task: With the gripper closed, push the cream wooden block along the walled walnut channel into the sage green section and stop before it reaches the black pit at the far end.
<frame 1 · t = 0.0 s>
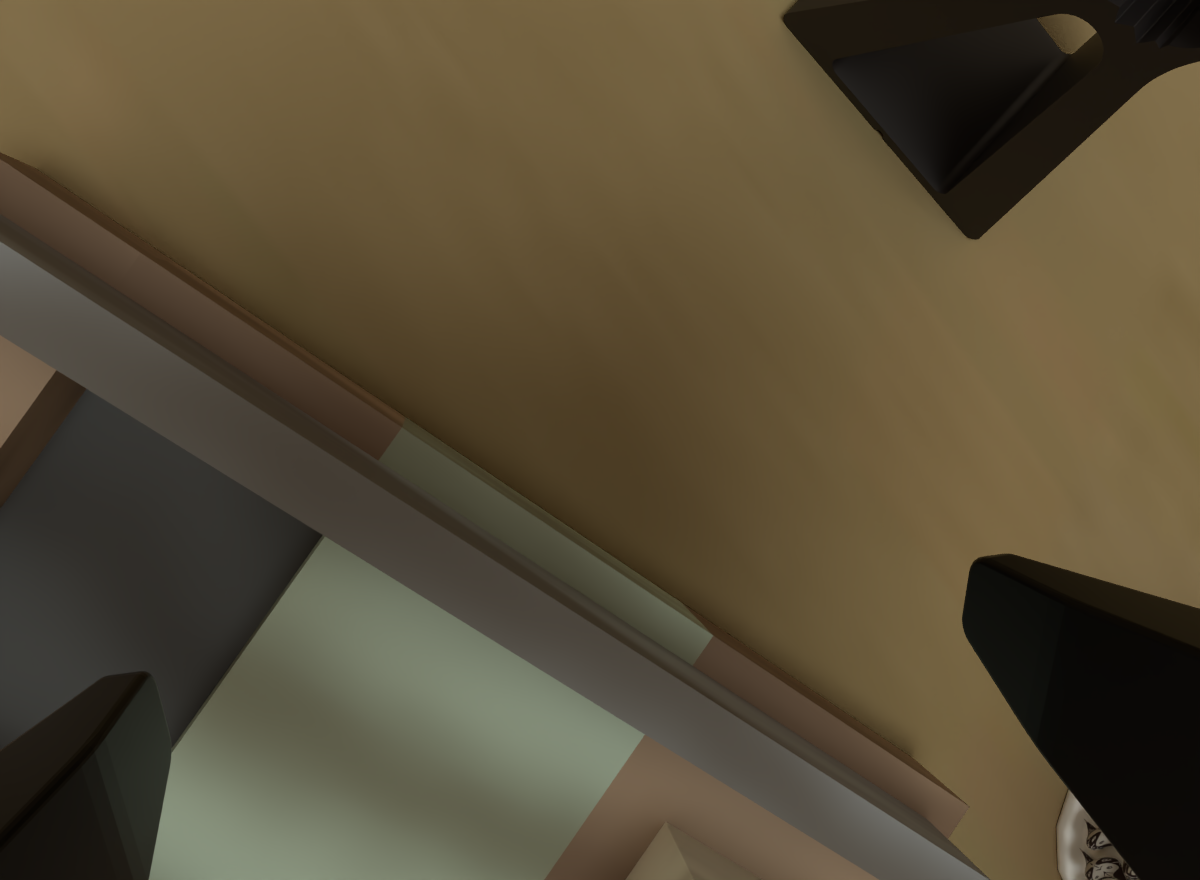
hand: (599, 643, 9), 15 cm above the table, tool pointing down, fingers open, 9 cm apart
decorative candle: (1153, 819, 31), on the table
channel board: (392, 739, 25), on the table
phone stand: (938, 66, 26), on the table
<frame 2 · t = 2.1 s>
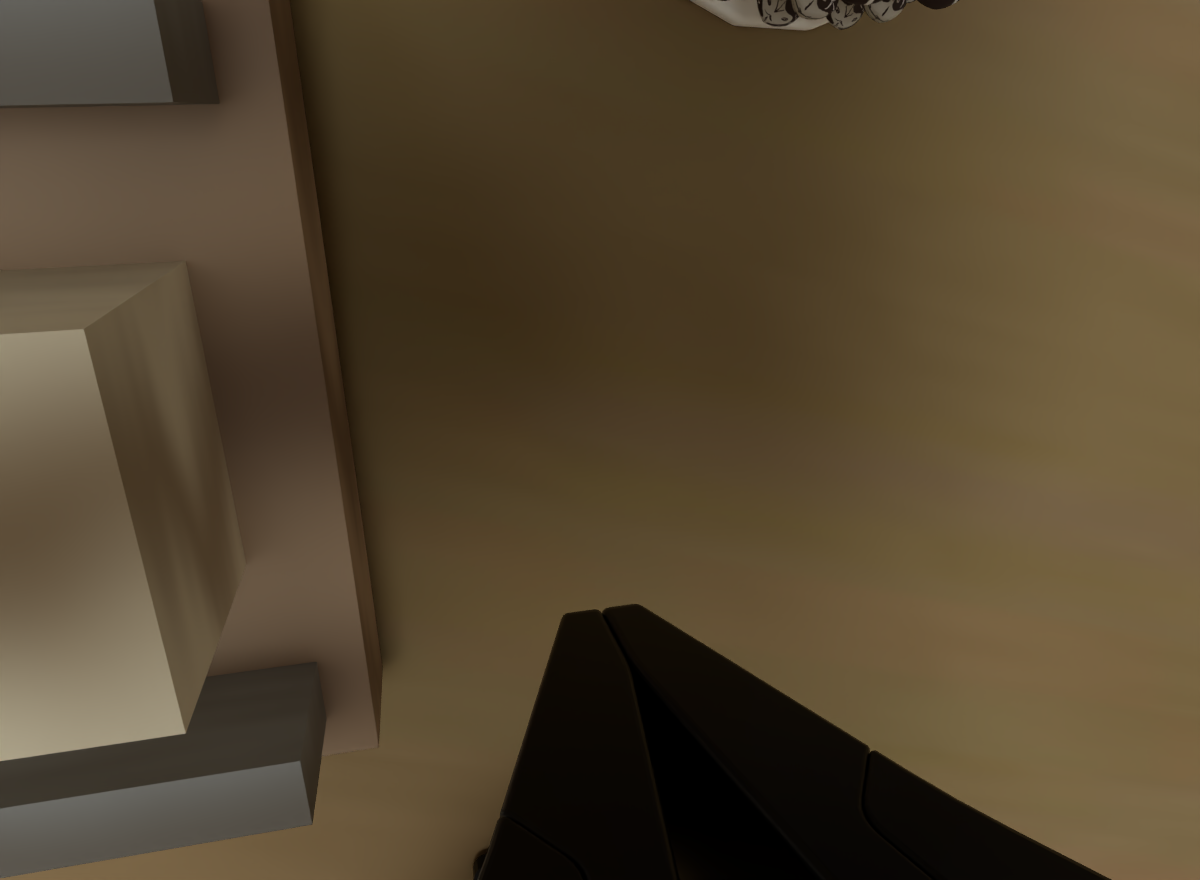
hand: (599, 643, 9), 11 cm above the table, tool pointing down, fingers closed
cream block: (40, 438, 15), point 3 cm above the table, touching channel board
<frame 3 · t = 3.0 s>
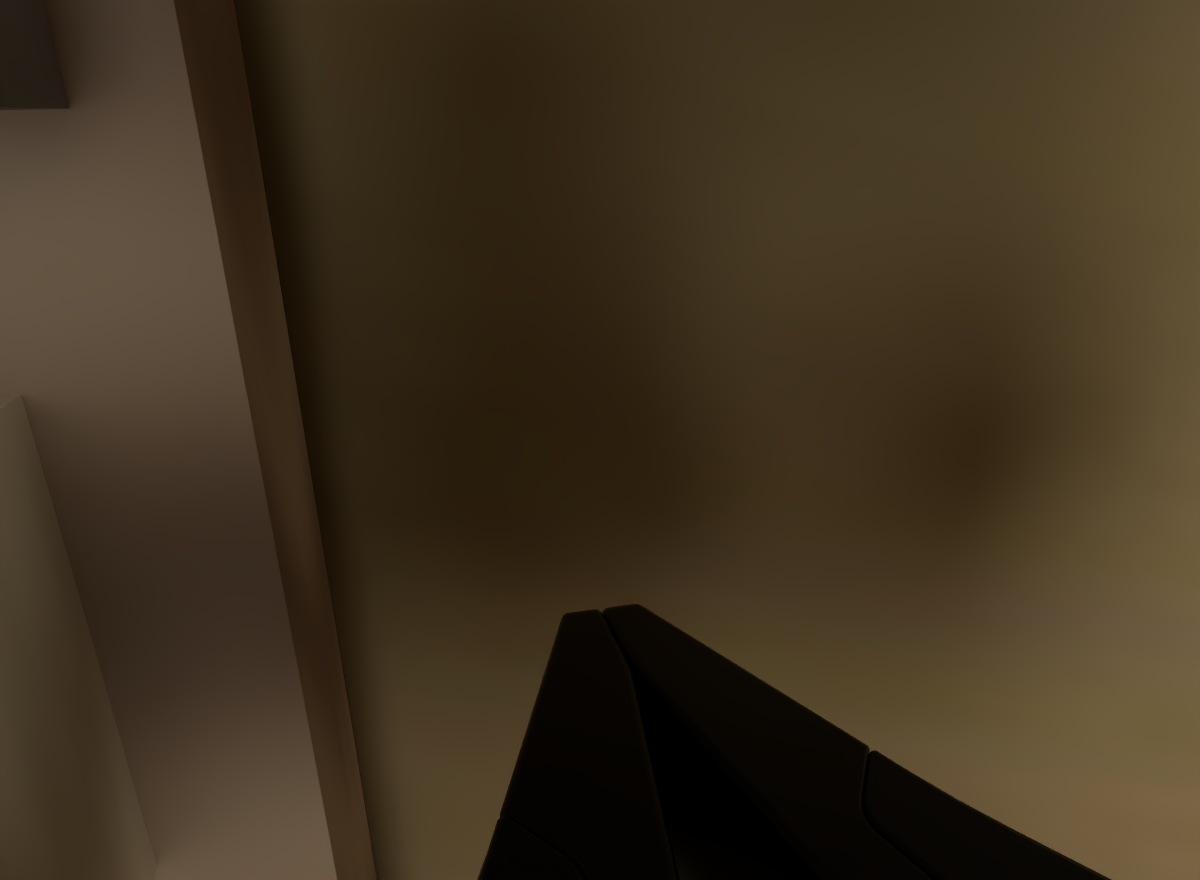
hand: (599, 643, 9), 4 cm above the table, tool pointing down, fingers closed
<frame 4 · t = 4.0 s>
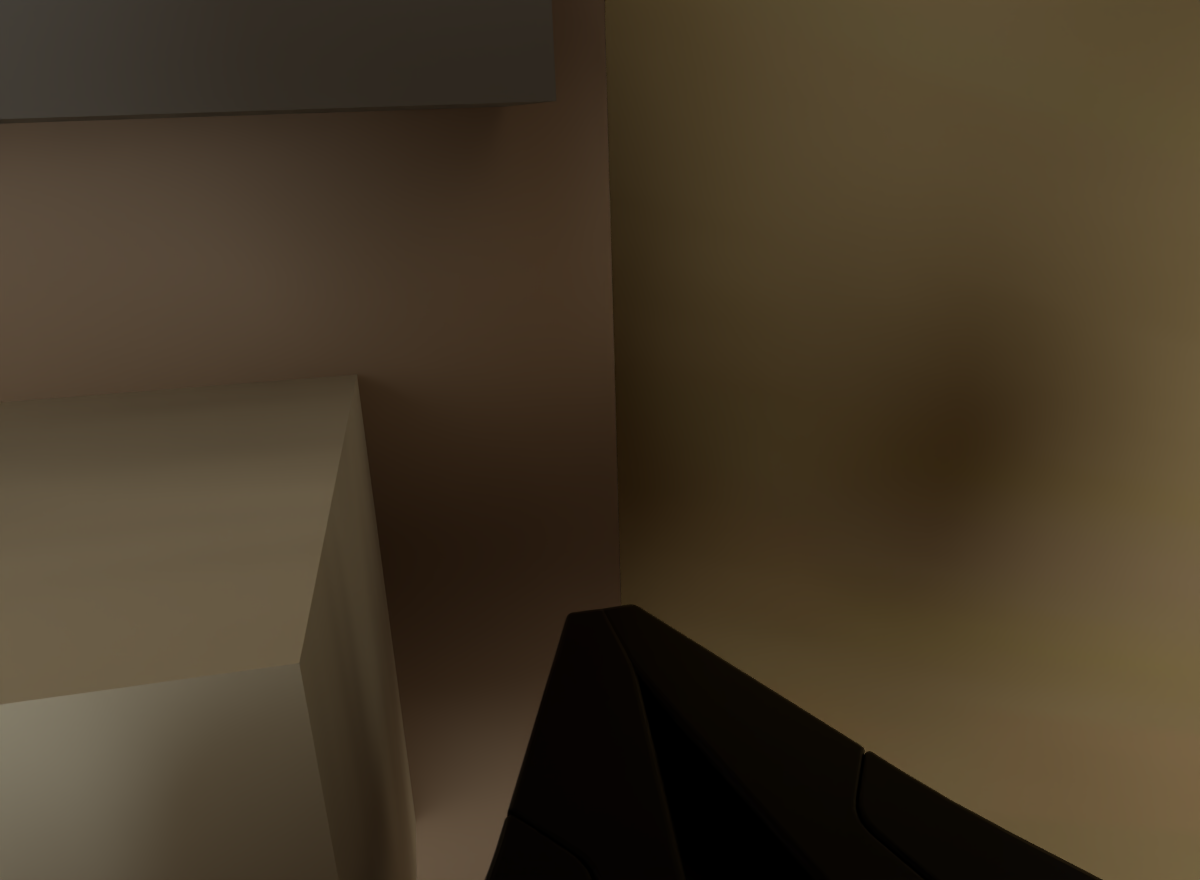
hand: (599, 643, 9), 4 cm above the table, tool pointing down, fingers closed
cream block: (107, 660, 9), point 3 cm above the table, touching channel board, gripper
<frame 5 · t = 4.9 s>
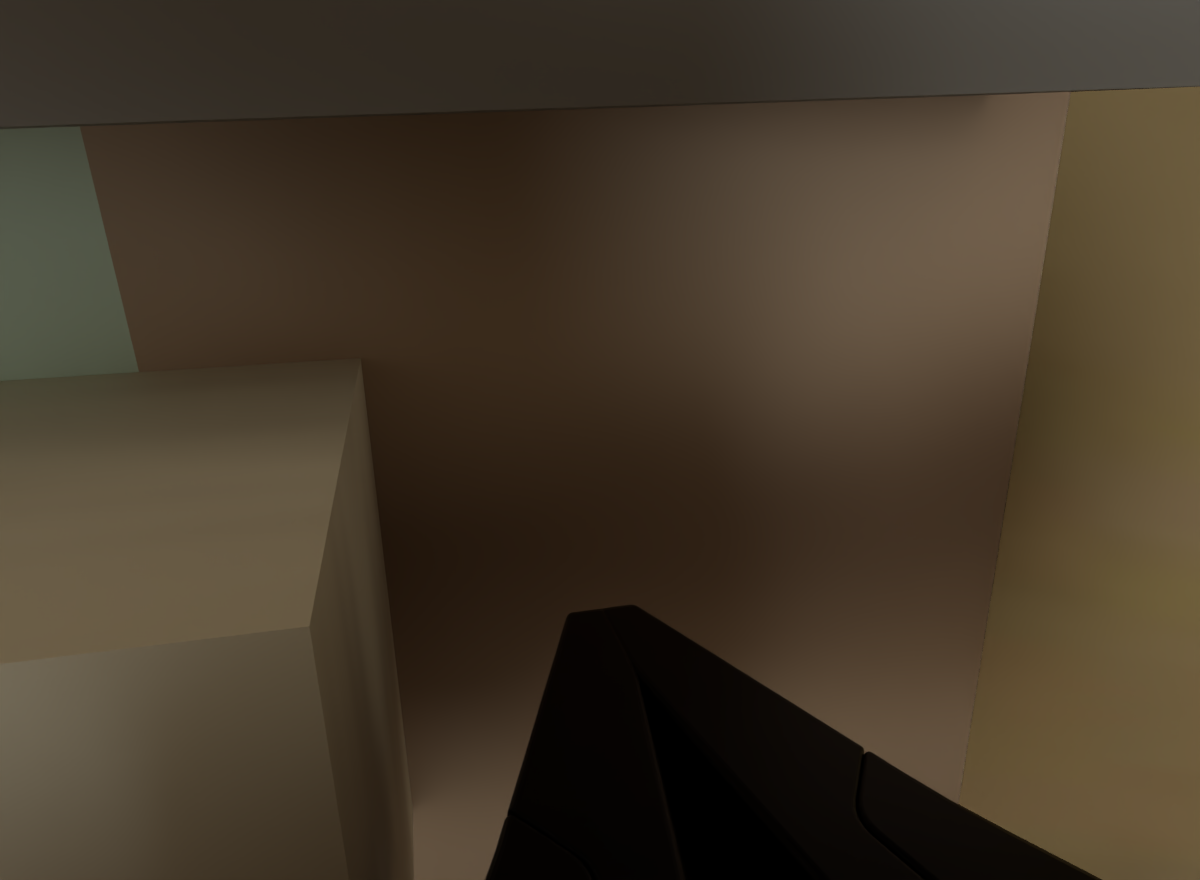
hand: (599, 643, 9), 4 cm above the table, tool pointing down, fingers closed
cream block: (106, 643, 9), point 3 cm above the table, touching gripper
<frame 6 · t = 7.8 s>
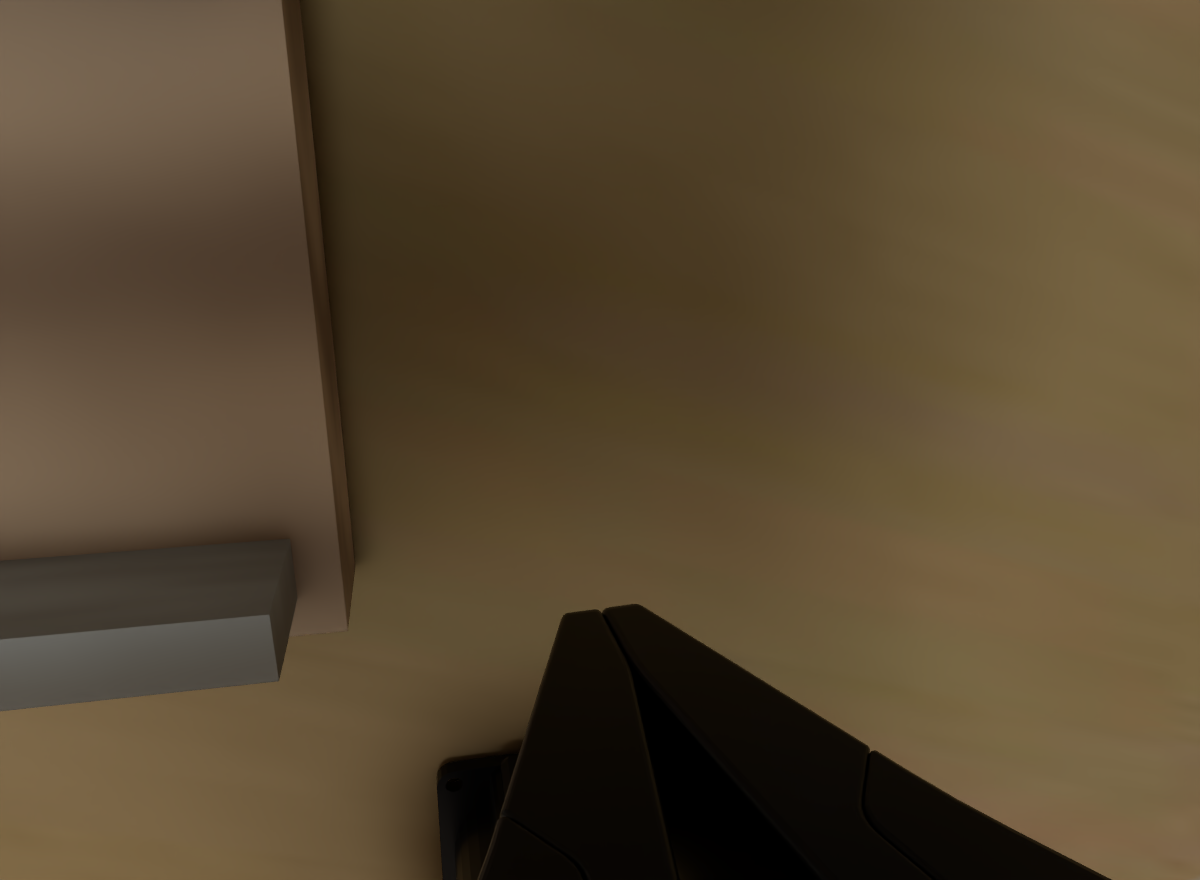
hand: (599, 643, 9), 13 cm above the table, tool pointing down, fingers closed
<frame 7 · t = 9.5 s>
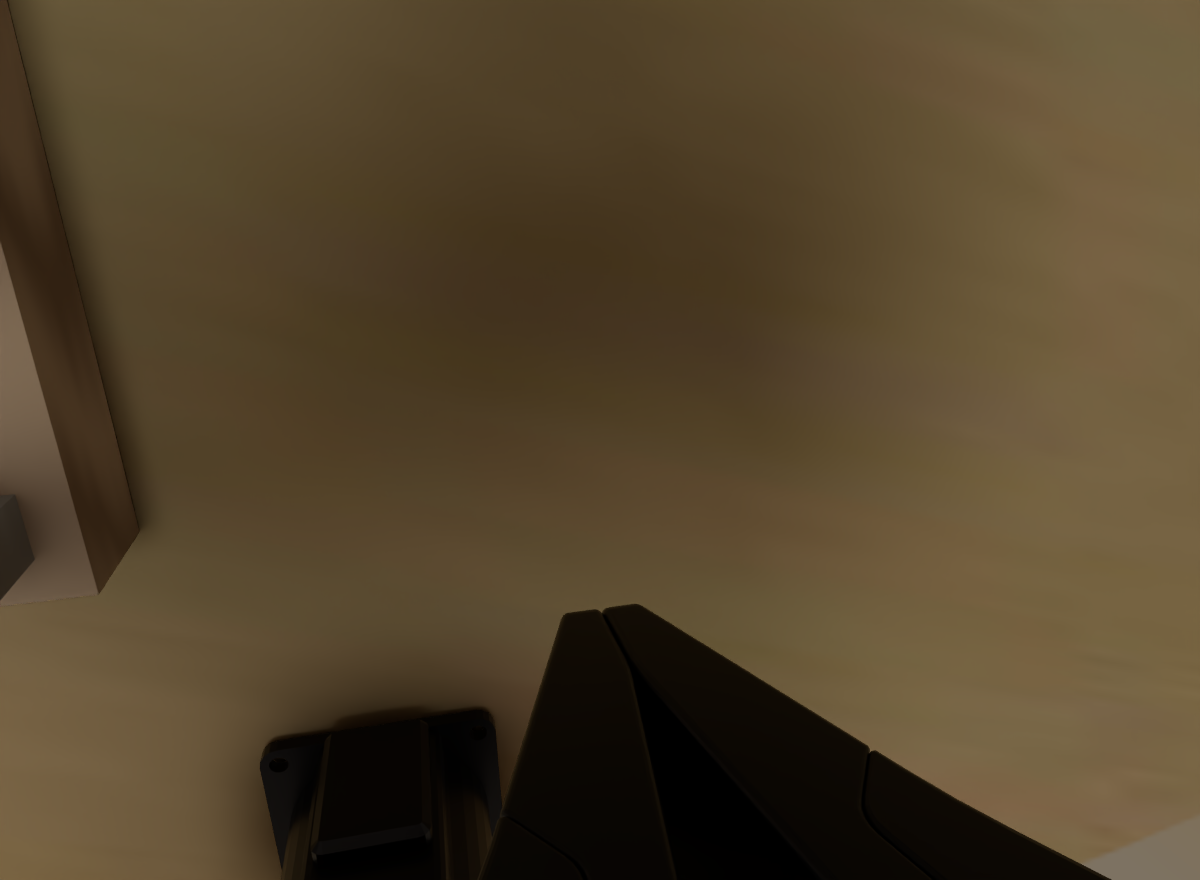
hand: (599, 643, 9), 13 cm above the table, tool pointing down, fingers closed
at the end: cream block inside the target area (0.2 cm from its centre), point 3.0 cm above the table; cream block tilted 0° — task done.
